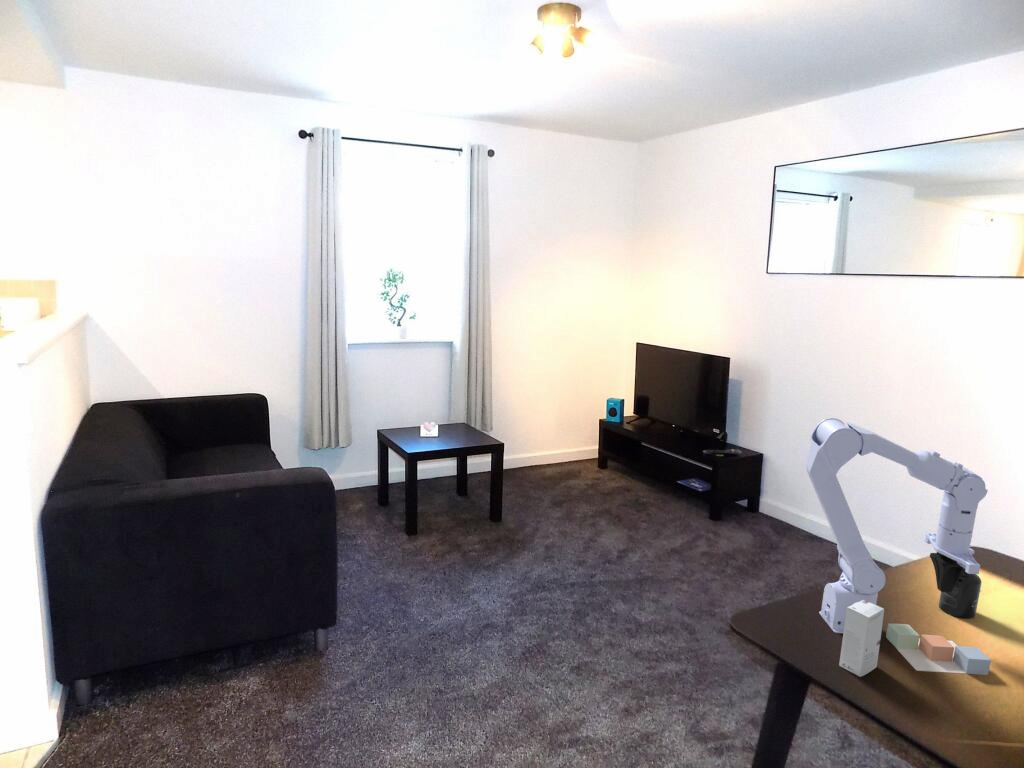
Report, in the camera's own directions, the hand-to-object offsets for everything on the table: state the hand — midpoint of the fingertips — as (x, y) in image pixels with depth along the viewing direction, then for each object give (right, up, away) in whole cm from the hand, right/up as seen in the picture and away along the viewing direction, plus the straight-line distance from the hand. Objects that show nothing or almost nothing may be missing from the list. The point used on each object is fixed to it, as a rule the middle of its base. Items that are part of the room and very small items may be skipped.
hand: (944, 590), depth 133 cm
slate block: (-1, -11, -10) cm, 15 cm away
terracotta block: (-6, -11, -6) cm, 13 cm away
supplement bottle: (+10, -9, +11) cm, 17 cm away
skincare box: (-23, -11, -10) cm, 27 cm away
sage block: (-10, -10, -2) cm, 14 cm away
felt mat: (-6, -11, -6) cm, 14 cm away
